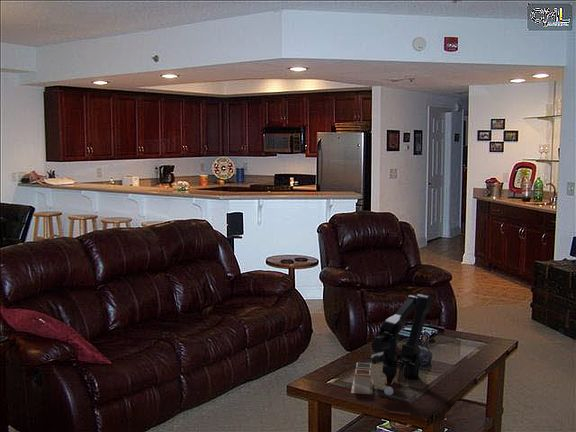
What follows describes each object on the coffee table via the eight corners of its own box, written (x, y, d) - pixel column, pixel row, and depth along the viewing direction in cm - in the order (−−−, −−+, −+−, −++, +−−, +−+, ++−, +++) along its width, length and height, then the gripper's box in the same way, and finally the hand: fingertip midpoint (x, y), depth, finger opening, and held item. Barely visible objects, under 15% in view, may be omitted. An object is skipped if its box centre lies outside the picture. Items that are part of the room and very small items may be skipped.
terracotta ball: (393, 383, 295) (393, 375, 295) (393, 386, 292) (393, 378, 291) (384, 383, 296) (384, 374, 296) (384, 386, 292) (384, 377, 292)
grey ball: (393, 394, 283) (393, 385, 282) (393, 397, 279) (393, 388, 278) (383, 393, 283) (384, 384, 283) (383, 396, 279) (384, 387, 279)
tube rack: (353, 379, 299) (354, 361, 298) (373, 381, 297) (374, 363, 296) (351, 394, 281) (351, 374, 280) (371, 396, 280) (372, 376, 279)
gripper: (373, 341, 303) (371, 373, 304) (371, 353, 284) (370, 387, 286) (397, 342, 301) (395, 375, 302) (397, 355, 282) (395, 390, 284)
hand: (388, 381), depth 294 cm, fingers open, 9 cm apart
